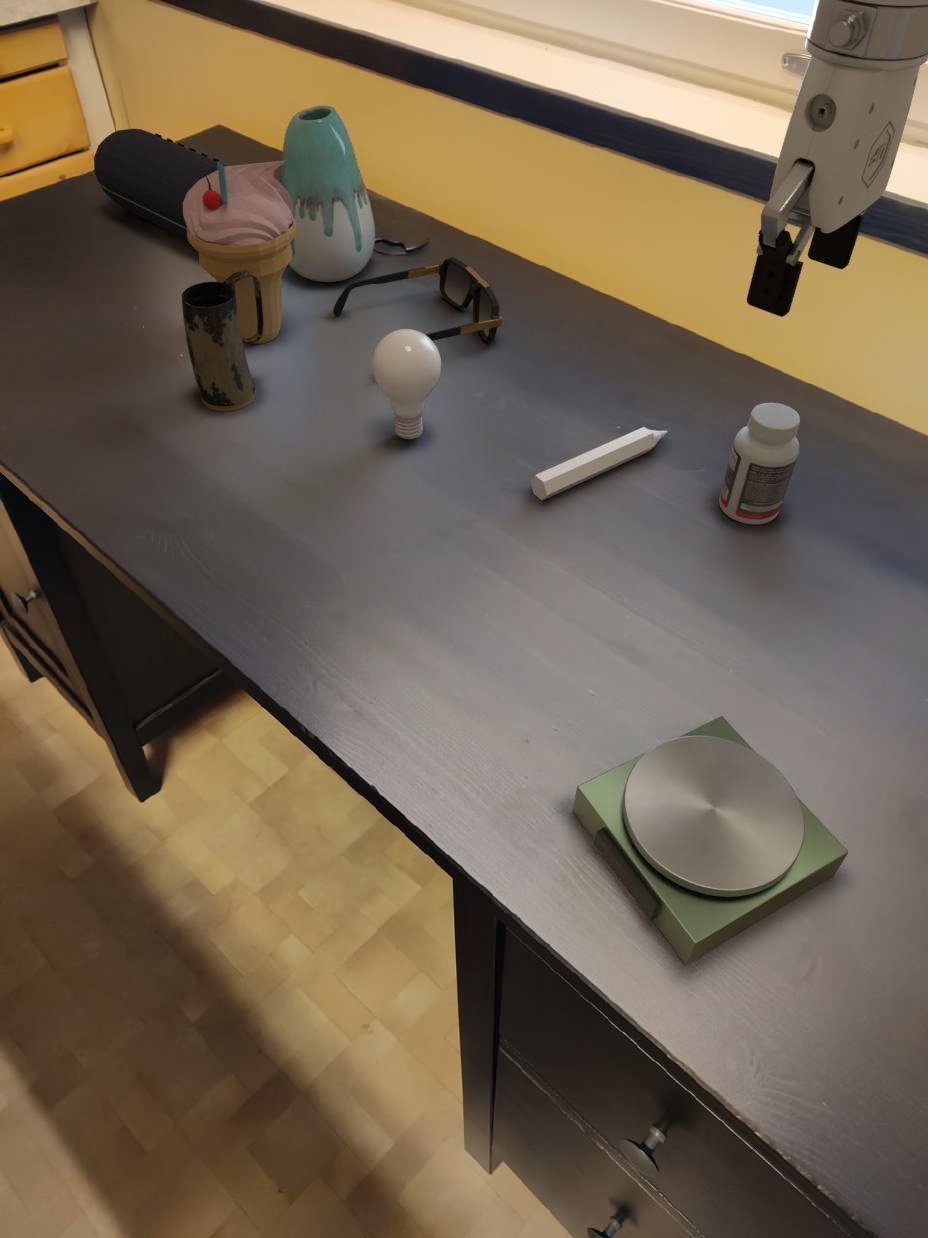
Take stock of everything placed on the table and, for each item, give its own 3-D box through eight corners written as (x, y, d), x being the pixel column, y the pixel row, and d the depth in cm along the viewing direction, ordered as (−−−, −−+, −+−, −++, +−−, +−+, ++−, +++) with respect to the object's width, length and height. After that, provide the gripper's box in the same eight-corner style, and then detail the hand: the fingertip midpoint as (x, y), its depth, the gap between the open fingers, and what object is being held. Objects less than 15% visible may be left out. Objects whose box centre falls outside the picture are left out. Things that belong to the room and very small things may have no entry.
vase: (263, 281, 111) (239, 120, 98) (311, 241, 118) (294, 86, 105) (350, 300, 108) (336, 137, 95) (393, 258, 115) (386, 101, 102)
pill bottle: (790, 507, 84) (822, 416, 76) (756, 535, 81) (786, 443, 74) (739, 480, 86) (766, 389, 79) (705, 506, 84) (729, 414, 76)
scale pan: (721, 718, 63) (724, 711, 62) (839, 845, 56) (843, 839, 56) (588, 785, 59) (589, 778, 59) (698, 929, 53) (700, 923, 52)
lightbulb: (411, 409, 93) (408, 308, 85) (455, 436, 90) (456, 334, 82) (362, 435, 90) (354, 332, 82) (406, 464, 87) (402, 361, 79)
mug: (214, 418, 92) (189, 305, 83) (190, 392, 95) (164, 281, 86) (285, 392, 95) (269, 281, 86) (260, 368, 98) (241, 258, 89)
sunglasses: (333, 316, 106) (329, 274, 102) (453, 289, 110) (454, 248, 107) (380, 378, 97) (378, 334, 93) (509, 345, 102) (511, 303, 98)
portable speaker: (278, 245, 117) (267, 163, 110) (215, 273, 112) (199, 189, 105) (159, 189, 129) (141, 111, 121) (96, 212, 123) (74, 132, 116)
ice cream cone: (318, 350, 101) (296, 157, 86) (216, 367, 98) (176, 171, 84) (296, 302, 108) (273, 116, 93) (201, 317, 105) (162, 128, 91)
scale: (712, 739, 66) (721, 714, 64) (834, 875, 59) (849, 852, 57) (566, 813, 62) (570, 789, 59) (679, 969, 55) (689, 948, 52)
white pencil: (666, 445, 91) (539, 503, 84) (655, 427, 91) (527, 483, 85) (680, 432, 89) (550, 491, 82) (669, 413, 89) (538, 471, 82)
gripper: (871, 71, 52) (789, 347, 64) (983, 8, 61) (892, 261, 73) (751, 43, 55) (695, 311, 67) (874, -13, 64) (804, 232, 76)
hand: (797, 285), depth 70 cm, fingers open, 9 cm apart
